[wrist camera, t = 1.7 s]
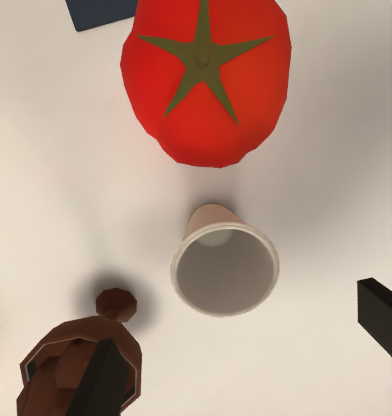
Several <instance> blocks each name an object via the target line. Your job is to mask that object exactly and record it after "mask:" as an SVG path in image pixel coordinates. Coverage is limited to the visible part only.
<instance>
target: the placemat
mask: <svg viewBox="0 0 392 416" xmlns="http://www.w3.org/2000/svg"><path fill="white" fill-rule="evenodd" d="M66 3H67V6H68V9H69V12H70V15H71V18H72V21H73V24H74V27H75V30H76V31H77V32H79V31H82V30H86V29H89V28H93V27H97V26H100V25H104V24H107V23H111V22H114V21H118V20H122V19H125V18H129V17H132V16H135V14H136V9H137V4H138V0H66Z"/></svg>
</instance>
